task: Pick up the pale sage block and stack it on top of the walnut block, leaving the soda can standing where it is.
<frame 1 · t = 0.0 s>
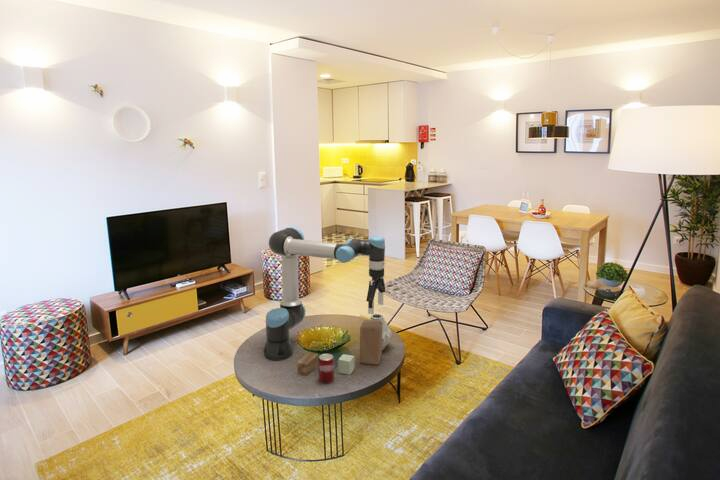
hand: (375, 309, 232), 28 cm above the table, fingers open, 13 cm apart
sage block: (346, 370, 228), on the table
vase: (376, 348, 252), on the table
soda can: (326, 380, 219), on the table
walnut block: (308, 369, 229), on the table
wooden block: (370, 360, 238), on the table
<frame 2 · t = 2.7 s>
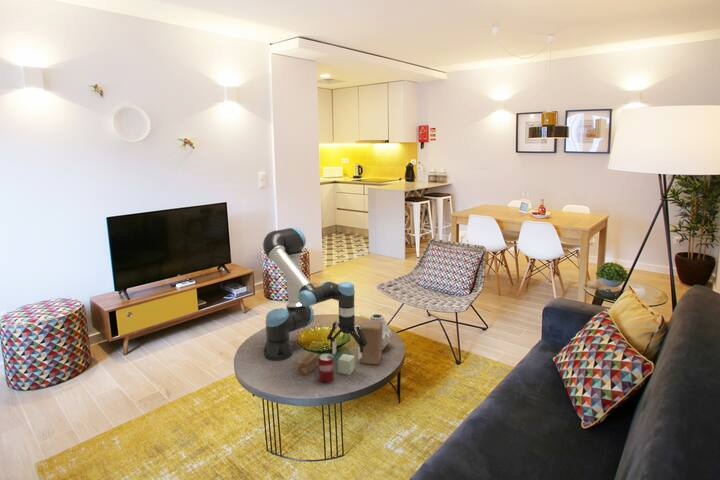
hand: (347, 355, 225), 8 cm above the table, fingers open, 13 cm apart
nothing on the table moved.
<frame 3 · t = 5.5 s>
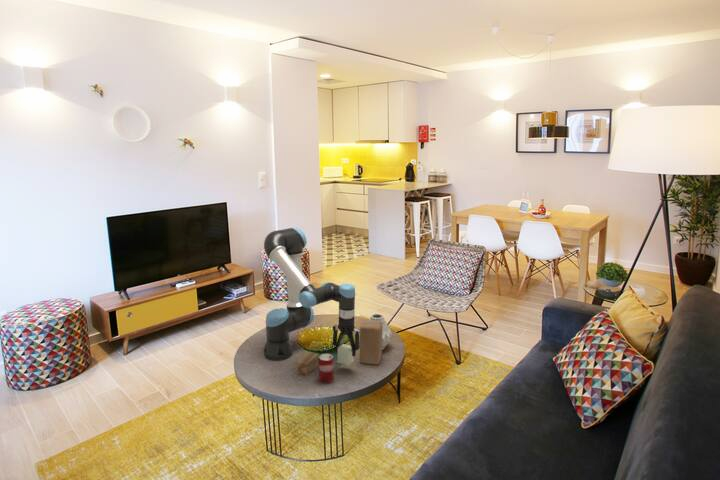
hand: (345, 360, 227), 5 cm above the table, fingers closed on sage block, 6 cm apart
sage block: (345, 360, 227), point 5 cm above the table, touching gripper
everything else where it was.
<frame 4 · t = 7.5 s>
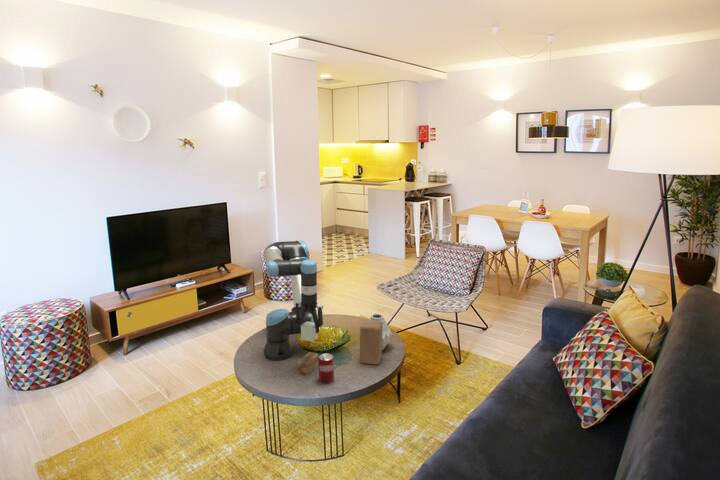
hand: (309, 337, 226), 17 cm above the table, fingers closed on sage block, 6 cm apart
sage block: (309, 338, 226), point 16 cm above the table, touching gripper
everything else where it was.
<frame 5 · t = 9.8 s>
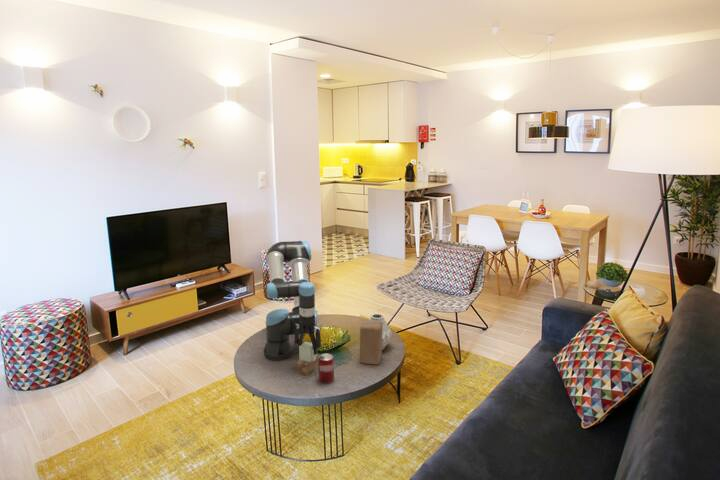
hand: (307, 358, 227), 6 cm above the table, fingers closed on sage block, 6 cm apart
sage block: (307, 358, 227), point 6 cm above the table, touching gripper
everything else where it was.
when the fingers open (6 cm above the table, at t = 9.9 s): sage block stays where it is, point 6 cm above the table.
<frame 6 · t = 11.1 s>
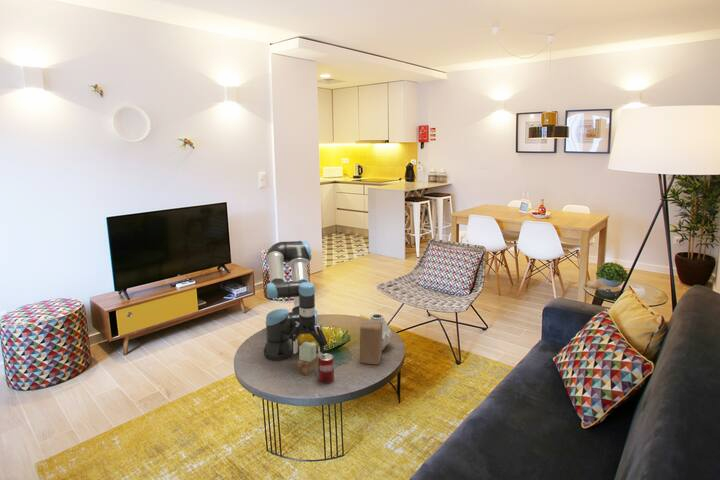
hand: (307, 355, 227), 7 cm above the table, fingers open, 13 cm apart
sage block: (307, 358, 227), point 6 cm above the table
everything else where it was.
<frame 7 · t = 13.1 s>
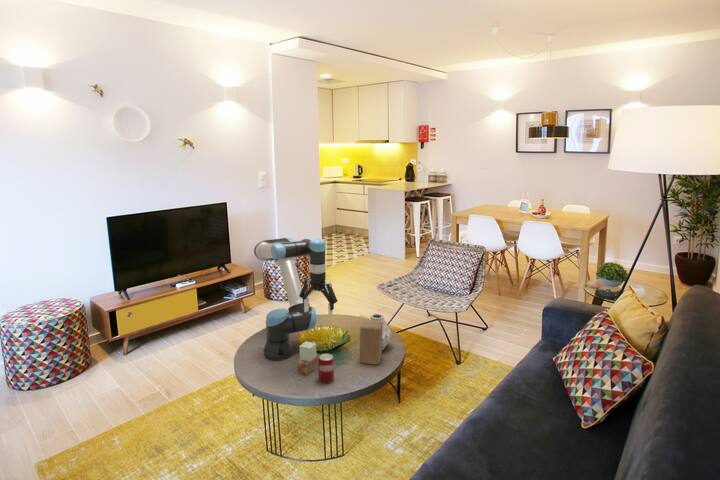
hand: (318, 313, 226), 28 cm above the table, fingers open, 13 cm apart
sage block: (308, 357, 228), point 6 cm above the table, touching walnut block
walnut block: (308, 369, 229), on the table, touching sage block
everything else where it was.
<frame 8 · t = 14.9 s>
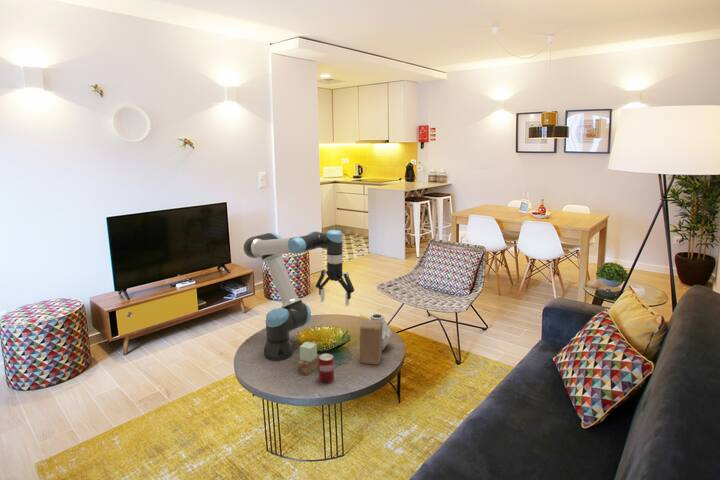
hand: (334, 303, 231), 31 cm above the table, fingers open, 13 cm apart
nothing on the table moved.
at the end: sage block inside the target area on the walnut block (0.1 cm from its centre), point 6.0 cm above the walnut block's base; sage block tilted 0°; the gripper is holding nothing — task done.
